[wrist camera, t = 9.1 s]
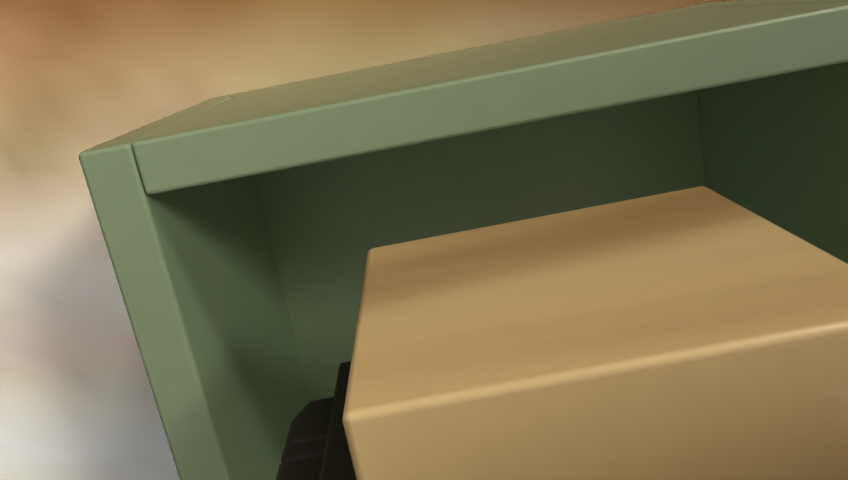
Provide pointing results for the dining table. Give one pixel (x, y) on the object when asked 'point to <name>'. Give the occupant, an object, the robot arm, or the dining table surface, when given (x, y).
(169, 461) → the dining table surface
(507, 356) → the block
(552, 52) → the chest
